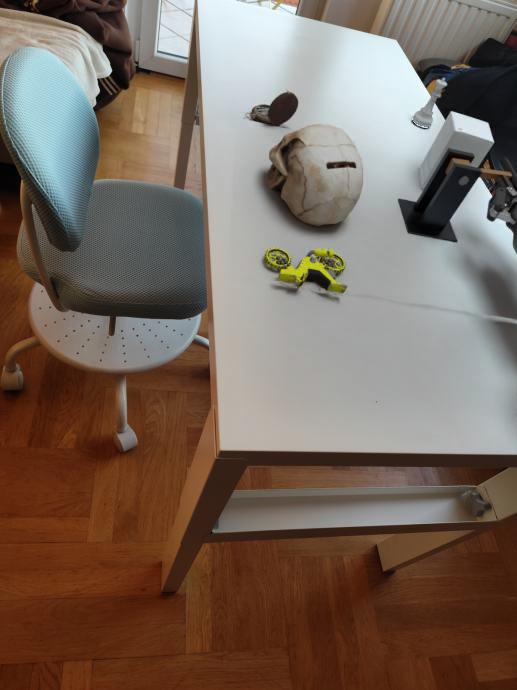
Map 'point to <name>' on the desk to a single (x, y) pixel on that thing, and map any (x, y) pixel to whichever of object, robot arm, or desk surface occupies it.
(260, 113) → the compass
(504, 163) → the lever
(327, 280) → the toy motorcycle
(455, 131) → the white packaging box
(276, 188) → the coin bank
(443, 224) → the bracket
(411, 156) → the desk surface
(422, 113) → the chess piece
